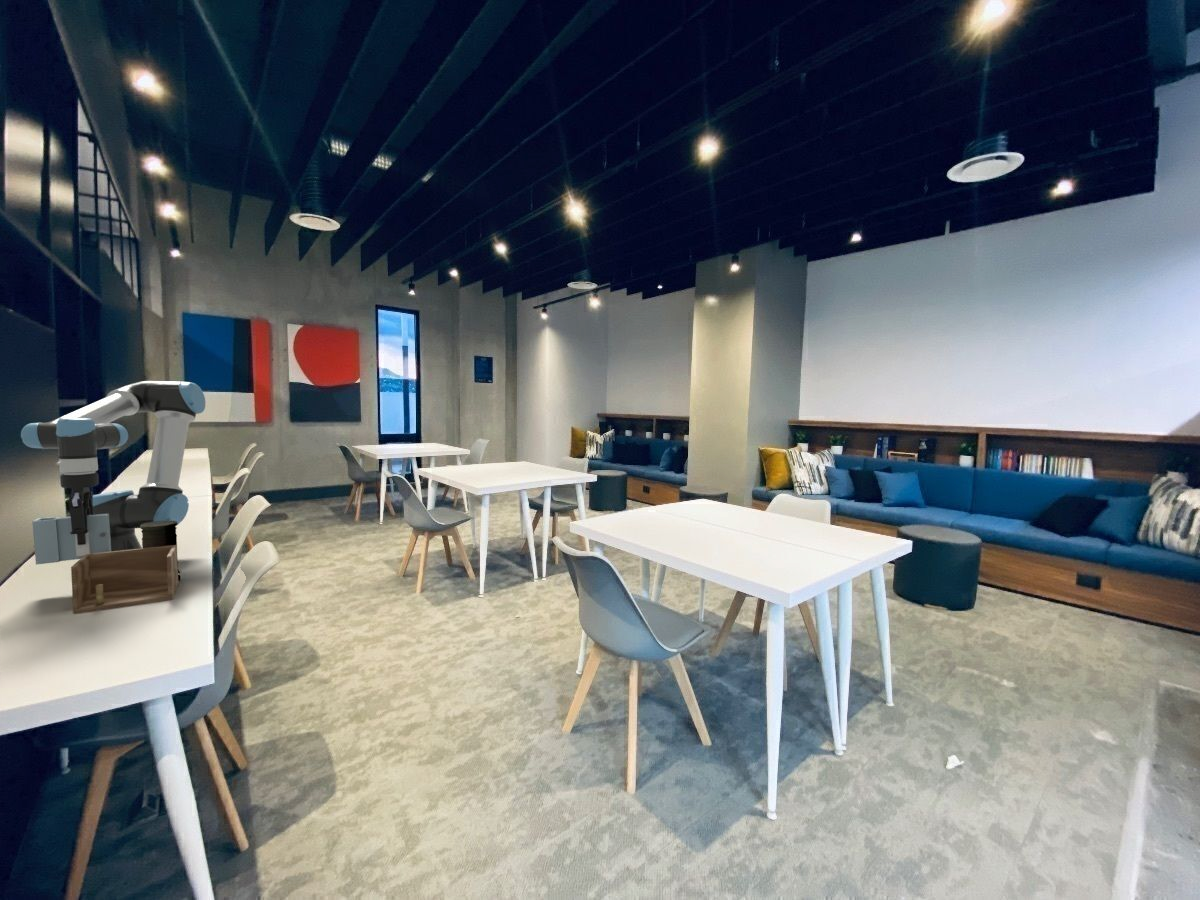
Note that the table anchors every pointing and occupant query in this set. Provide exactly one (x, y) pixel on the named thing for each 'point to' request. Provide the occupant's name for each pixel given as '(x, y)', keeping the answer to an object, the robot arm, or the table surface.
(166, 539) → the container
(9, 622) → the table surface
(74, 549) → the door
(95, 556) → the cabinet
